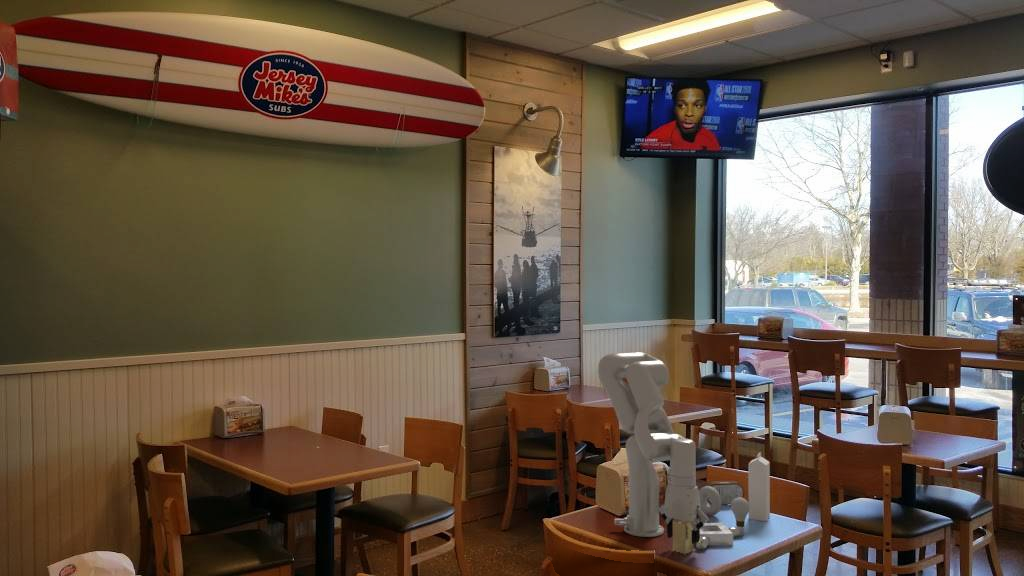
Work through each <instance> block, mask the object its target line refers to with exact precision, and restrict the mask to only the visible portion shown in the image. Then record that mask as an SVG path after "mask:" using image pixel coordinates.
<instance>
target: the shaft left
mask: <svg viewBox="0 0 1024 576" xmlns="http://www.w3.org/2000/svg"><path fill="white" fill-rule="evenodd" d="M710 541H711V540H710V538H709V537H708V536H702V537H701V538H700V540H699V542H697V543H695V547H696V548H697V549H698V550H699V549H701V550H700V551H704V550H705V549H706V548H707V547H709V546H710V545H709V543H710Z"/></svg>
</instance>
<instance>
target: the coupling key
mask: <svg viewBox="0 0 1024 576" xmlns="http://www.w3.org/2000/svg"><path fill="white" fill-rule="evenodd" d="M692 530H693V527H692V525H691V523H690V522H685V521H681V520H676V519H674V521H673V537H672V552H674V551H676V552H675V553H678V552H680V553H679V554H682V553H683V554H682V555H687V553H688V554H689V552H690V553H691V551H692V552H694V544H692Z"/></svg>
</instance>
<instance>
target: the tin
mask: <svg viewBox="0 0 1024 576" xmlns="http://www.w3.org/2000/svg"><path fill="white" fill-rule="evenodd" d="M705 486H711V487H713V488H715V489H716V490H717V492H718V493H719V495H720V498H721V506H728V505H727V504H731V503H732V501H733V500H734V499H735V498H739V497H741V498H744V497H745V490H744V487H743V486H742V484H740V483H739V482H738V481H736V480H712V481H710V482H708V483H707V484H706V485H705ZM744 499H745V498H744ZM707 501H708V504H709V505H711V499H710V497H709V496H708V497H707Z"/></svg>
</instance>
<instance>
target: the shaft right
mask: <svg viewBox="0 0 1024 576" xmlns="http://www.w3.org/2000/svg"><path fill="white" fill-rule="evenodd" d="M727 528H728V529H729V530H730V531H731V532H732V533H733V538H739V537H740V538H741V537H743V536H744V535H745V531H744V527H743V528H742V527H737V526H733V527H727Z"/></svg>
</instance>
